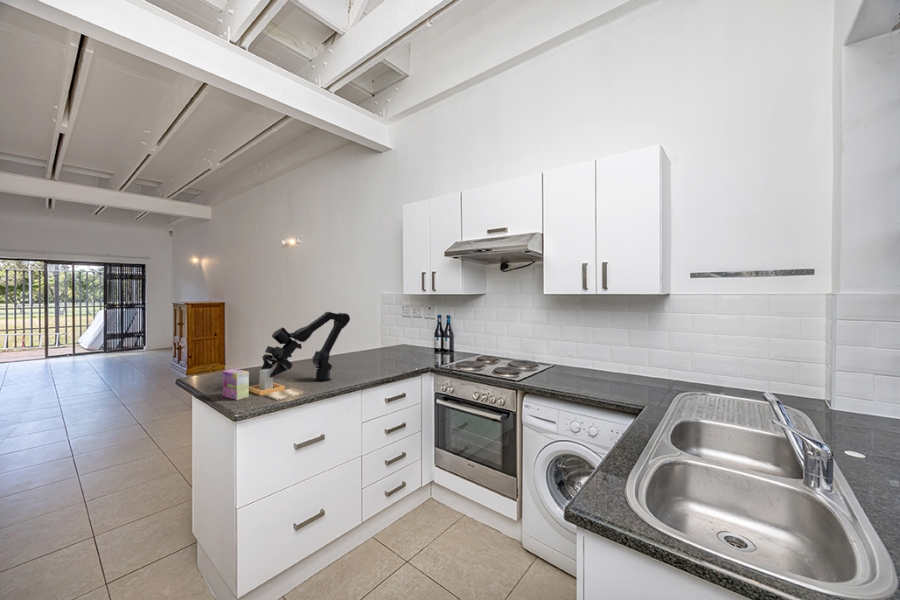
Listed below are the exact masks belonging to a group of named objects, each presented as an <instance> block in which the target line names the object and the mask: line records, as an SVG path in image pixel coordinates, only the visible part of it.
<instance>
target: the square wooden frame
mask: <svg viewBox="0 0 900 600" xmlns="http://www.w3.org/2000/svg"><path fill="white" fill-rule="evenodd" d="M273 387H274V388H271V389H266V390H259V384H255V385H249V391H250V392H249V393H252V392H253V393H252V394H254V393H255V395H257V394H258V395H257V396H260V395H261V396H265V395H264V394H268V393H273V392H277V391H282V390H286V388H285V387H286V386H285V385H283V384H280V383H275V382H273Z"/></svg>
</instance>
